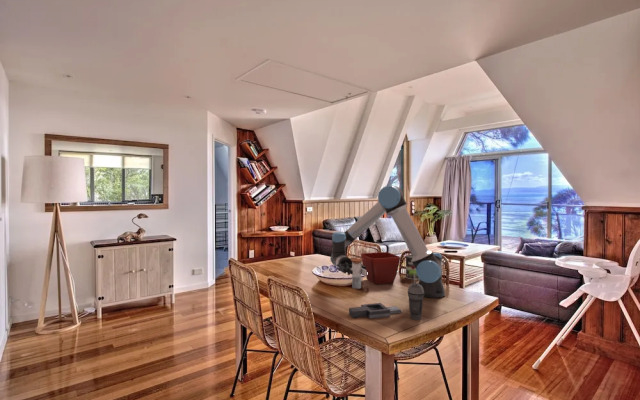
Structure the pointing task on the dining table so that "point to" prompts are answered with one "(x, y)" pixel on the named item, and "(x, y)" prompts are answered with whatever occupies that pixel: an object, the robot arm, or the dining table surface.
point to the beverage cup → (415, 300)
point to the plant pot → (381, 267)
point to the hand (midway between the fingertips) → (360, 273)
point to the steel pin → (357, 266)
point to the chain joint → (373, 311)
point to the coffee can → (410, 268)
